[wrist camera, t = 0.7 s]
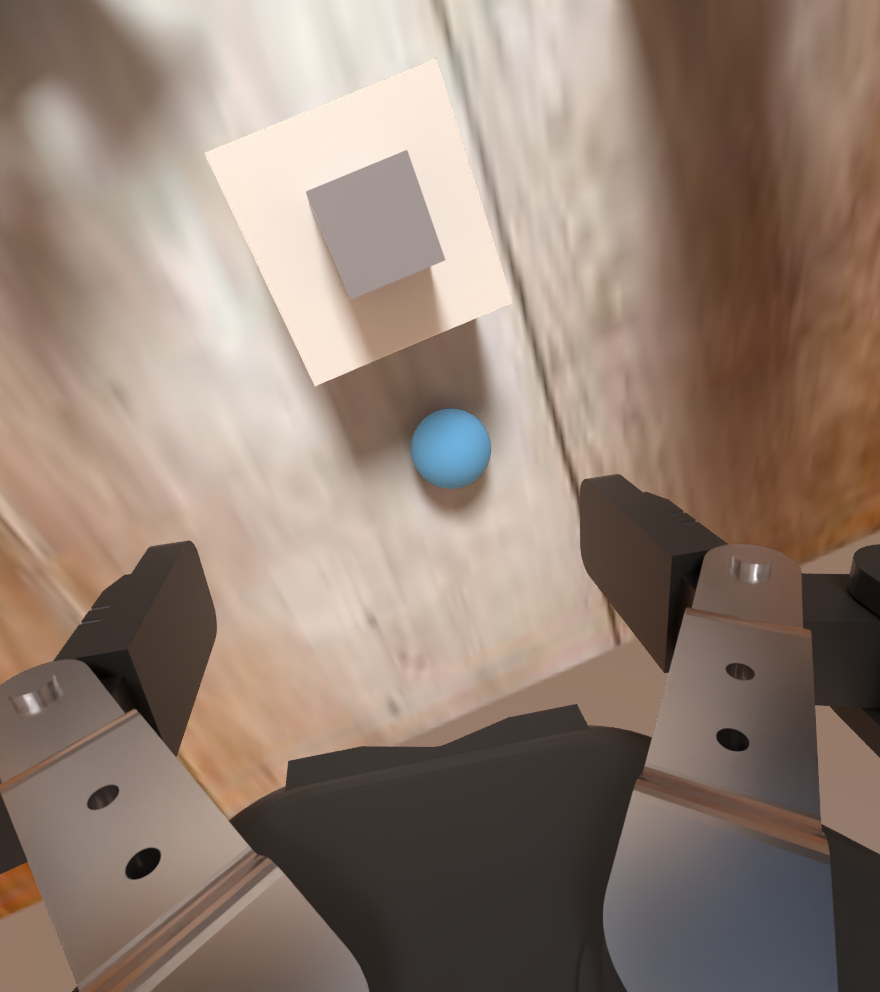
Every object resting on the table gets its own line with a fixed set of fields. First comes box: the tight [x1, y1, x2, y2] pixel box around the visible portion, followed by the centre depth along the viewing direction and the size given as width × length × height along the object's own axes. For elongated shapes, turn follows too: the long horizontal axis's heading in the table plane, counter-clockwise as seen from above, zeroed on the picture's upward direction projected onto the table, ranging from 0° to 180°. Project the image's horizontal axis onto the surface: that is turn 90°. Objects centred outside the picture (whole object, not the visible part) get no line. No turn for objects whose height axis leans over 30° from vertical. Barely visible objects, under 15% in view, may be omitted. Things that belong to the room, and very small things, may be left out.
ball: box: [411, 408, 491, 489], centre depth 37 cm, size 5×5×5 cm
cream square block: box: [205, 59, 513, 386], centre depth 28 cm, size 10×10×13 cm
